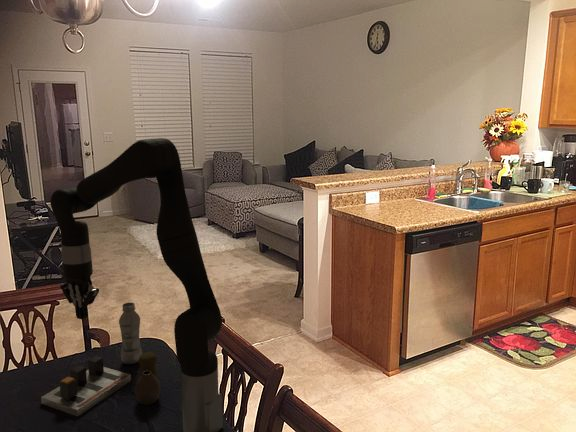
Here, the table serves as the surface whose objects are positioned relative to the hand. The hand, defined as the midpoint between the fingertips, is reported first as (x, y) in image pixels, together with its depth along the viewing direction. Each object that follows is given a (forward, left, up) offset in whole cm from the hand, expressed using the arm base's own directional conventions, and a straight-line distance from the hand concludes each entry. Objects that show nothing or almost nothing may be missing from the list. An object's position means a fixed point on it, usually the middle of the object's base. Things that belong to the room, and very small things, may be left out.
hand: (82, 318), depth 136 cm
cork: (-15, -9, -23) cm, 29 cm away
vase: (-19, -4, -23) cm, 30 cm away
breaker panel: (0, 0, -23) cm, 23 cm away
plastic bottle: (+1, -19, -23) cm, 30 cm away
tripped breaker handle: (0, +7, -21) cm, 22 cm away
